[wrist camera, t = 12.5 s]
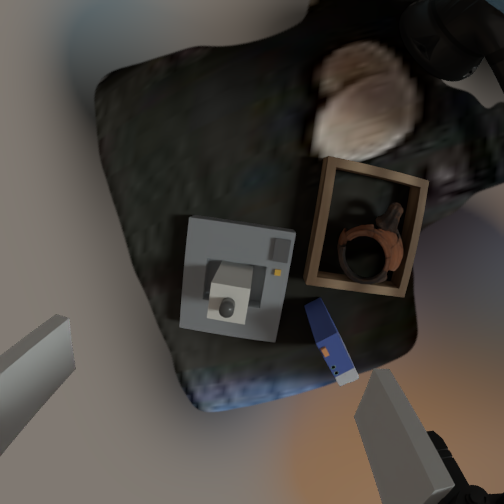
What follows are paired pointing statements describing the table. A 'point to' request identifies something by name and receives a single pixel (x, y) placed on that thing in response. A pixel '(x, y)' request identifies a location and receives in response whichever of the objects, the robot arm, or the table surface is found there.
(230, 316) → the plug
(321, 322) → the walkman
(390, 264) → the pottery mug
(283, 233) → the socket plate
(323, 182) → the mug frame
